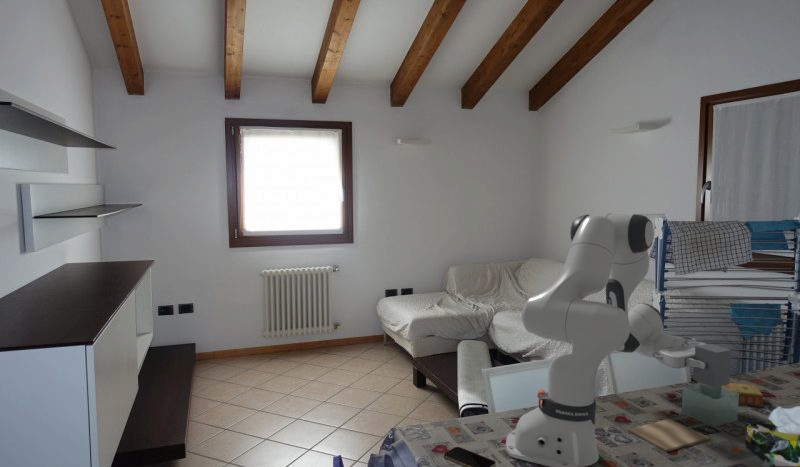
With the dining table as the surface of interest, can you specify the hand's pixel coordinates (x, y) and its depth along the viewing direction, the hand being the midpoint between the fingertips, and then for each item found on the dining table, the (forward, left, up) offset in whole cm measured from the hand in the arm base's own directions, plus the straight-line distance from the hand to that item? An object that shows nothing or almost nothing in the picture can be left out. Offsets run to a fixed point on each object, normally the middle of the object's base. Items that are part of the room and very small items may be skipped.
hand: (715, 364), depth 149 cm
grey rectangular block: (-1, +1, -6) cm, 6 cm away
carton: (+10, +18, -17) cm, 26 cm away
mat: (-14, -15, -16) cm, 26 cm away
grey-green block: (0, +1, -16) cm, 16 cm away
